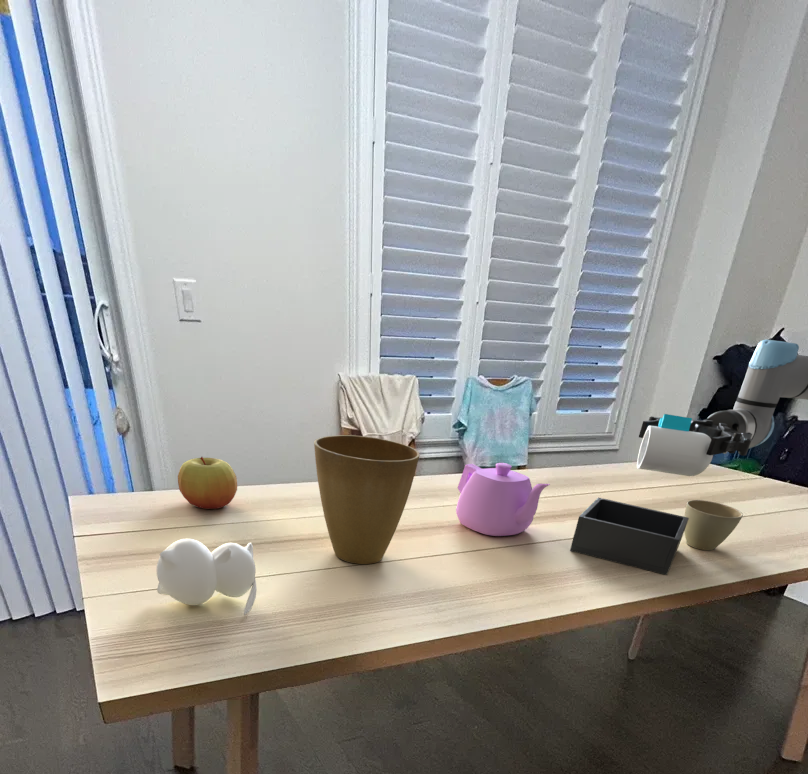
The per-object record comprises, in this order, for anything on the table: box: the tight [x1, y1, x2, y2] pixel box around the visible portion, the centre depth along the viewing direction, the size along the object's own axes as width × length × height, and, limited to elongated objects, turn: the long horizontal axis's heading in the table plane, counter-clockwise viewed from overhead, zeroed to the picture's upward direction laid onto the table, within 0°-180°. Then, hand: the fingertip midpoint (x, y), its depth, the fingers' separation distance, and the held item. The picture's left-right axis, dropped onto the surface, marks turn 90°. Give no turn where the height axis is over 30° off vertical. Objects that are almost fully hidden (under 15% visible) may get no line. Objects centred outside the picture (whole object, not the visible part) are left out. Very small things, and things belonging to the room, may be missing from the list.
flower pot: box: [683, 499, 744, 551], centre depth 119 cm, size 10×10×7 cm
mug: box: [636, 413, 714, 477], centre depth 115 cm, size 12×9×12 cm
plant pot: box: [313, 434, 421, 565], centre depth 94 cm, size 15×15×16 cm
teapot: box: [455, 462, 551, 537], centre depth 113 cm, size 13×20×11 cm
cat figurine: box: [156, 538, 258, 617], centre depth 77 cm, size 9×11×12 cm
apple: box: [177, 456, 238, 510], centre depth 108 cm, size 10×10×8 cm
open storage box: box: [569, 497, 689, 576], centre depth 112 cm, size 17×16×6 cm
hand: (675, 437), depth 112 cm, fingers closed on mug, 12 cm apart
